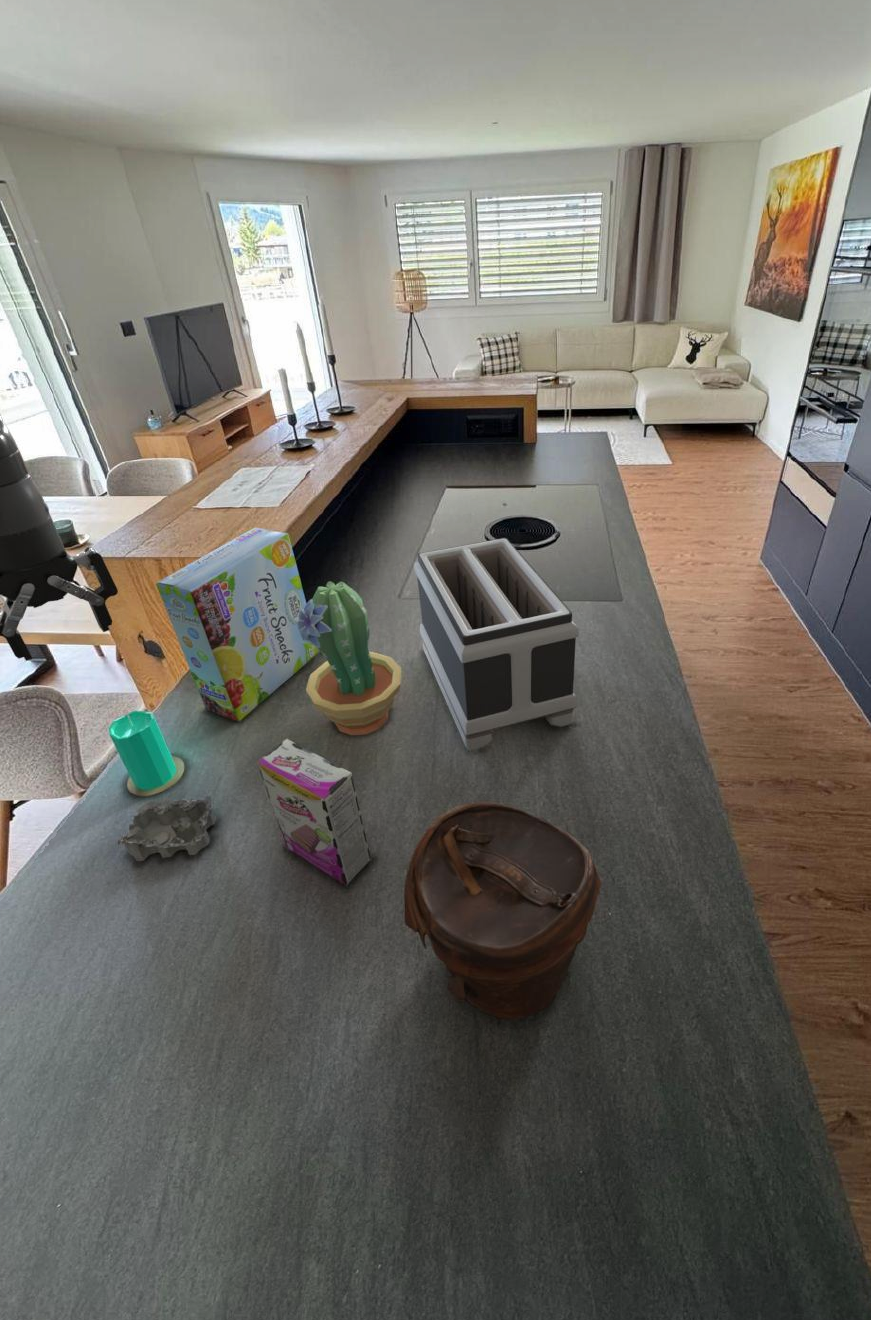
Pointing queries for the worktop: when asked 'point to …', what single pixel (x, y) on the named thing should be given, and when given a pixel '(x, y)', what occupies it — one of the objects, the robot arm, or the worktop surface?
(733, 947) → the worktop surface
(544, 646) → the toaster
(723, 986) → the worktop surface
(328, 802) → the candy bar box
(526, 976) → the case
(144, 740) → the candle
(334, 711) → the potted cactus
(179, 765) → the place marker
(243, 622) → the snack box
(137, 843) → the egg carton
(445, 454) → the worktop surface
